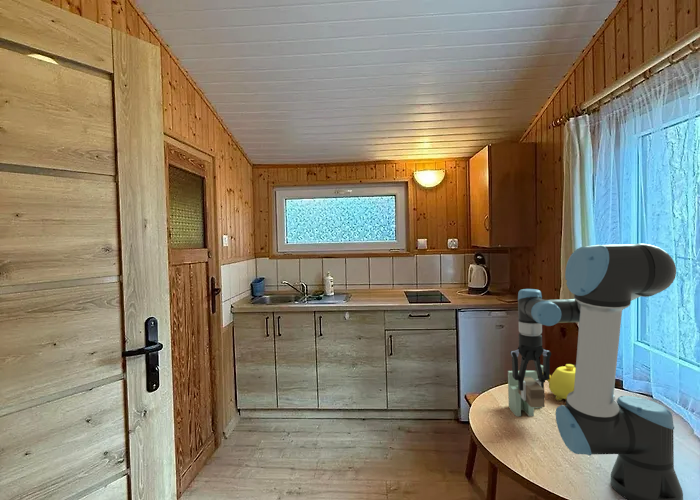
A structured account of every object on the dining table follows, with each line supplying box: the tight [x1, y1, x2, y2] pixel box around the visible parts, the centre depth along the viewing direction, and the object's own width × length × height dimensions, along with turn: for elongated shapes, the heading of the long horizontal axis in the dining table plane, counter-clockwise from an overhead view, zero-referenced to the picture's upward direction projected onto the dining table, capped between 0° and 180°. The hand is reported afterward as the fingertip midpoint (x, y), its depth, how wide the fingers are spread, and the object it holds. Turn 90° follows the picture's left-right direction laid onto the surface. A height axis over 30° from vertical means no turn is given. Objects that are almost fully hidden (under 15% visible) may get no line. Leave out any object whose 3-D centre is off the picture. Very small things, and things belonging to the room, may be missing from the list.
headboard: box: [507, 364, 543, 417], centre depth 156 cm, size 9×13×16 cm
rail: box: [518, 377, 546, 408], centre depth 147 cm, size 16×4×6 cm, turn 177°
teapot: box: [546, 363, 576, 401], centre depth 168 cm, size 20×16×14 cm
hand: (531, 398), depth 145 cm, fingers closed on rail, 4 cm apart
